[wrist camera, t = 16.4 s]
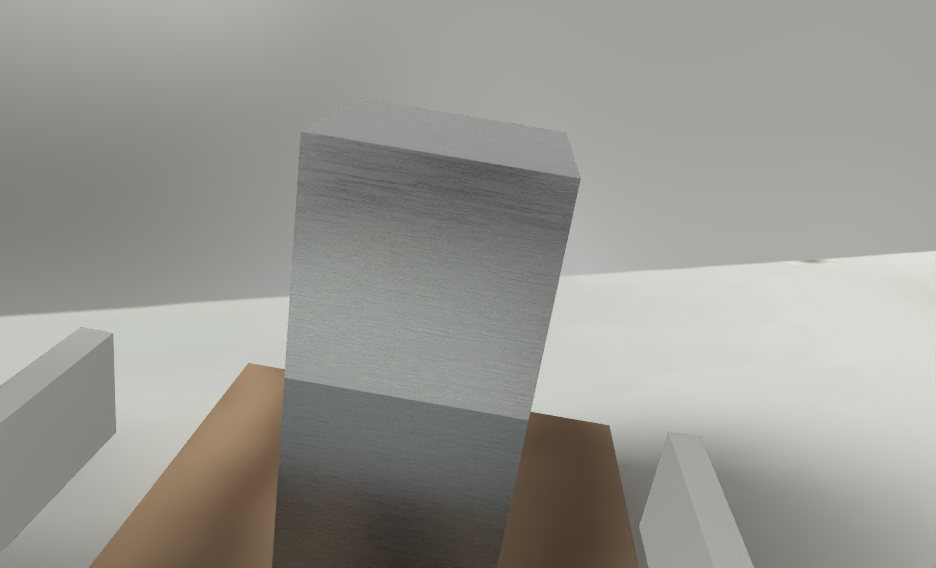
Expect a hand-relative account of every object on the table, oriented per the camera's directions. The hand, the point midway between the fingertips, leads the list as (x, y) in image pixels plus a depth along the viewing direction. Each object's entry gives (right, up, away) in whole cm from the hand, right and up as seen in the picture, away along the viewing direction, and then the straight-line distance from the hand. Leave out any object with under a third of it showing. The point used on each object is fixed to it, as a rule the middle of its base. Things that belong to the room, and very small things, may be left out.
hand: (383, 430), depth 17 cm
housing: (-1, -6, +13) cm, 14 cm away
